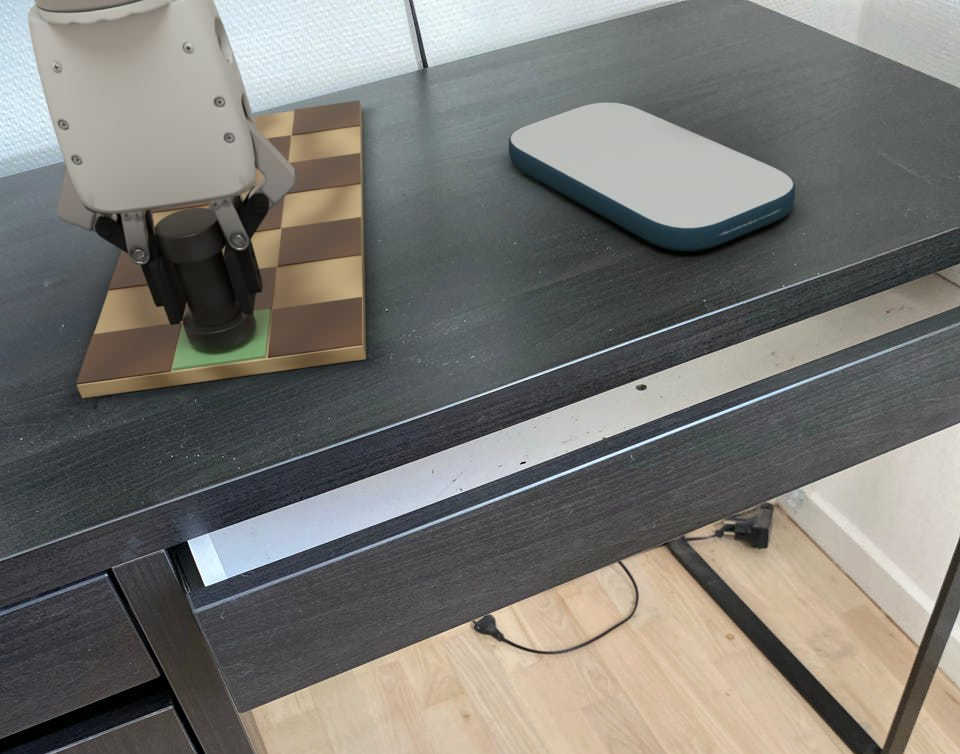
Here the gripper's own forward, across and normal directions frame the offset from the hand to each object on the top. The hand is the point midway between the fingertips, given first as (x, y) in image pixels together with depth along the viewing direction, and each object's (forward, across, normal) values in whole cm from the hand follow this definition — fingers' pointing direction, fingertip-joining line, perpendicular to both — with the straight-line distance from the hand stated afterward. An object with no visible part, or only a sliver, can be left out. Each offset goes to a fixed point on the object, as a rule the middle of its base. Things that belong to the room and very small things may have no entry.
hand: (213, 305), depth 63 cm
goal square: (+2, 0, 0) cm, 2 cm away
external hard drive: (+4, -30, -16) cm, 34 cm away
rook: (+2, 0, 0) cm, 2 cm away
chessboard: (+3, 0, -18) cm, 18 cm away
